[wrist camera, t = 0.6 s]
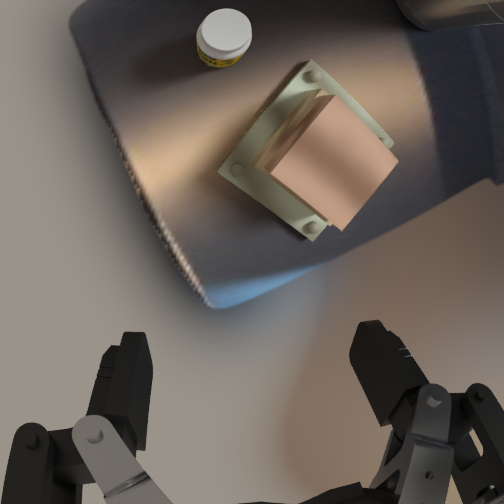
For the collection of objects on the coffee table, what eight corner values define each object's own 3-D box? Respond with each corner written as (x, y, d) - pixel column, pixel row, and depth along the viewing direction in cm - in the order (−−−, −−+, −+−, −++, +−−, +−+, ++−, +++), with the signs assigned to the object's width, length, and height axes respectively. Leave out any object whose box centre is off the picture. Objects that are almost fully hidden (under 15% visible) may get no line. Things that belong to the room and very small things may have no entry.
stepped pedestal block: (307, 60, 28) (338, 48, 21) (389, 141, 33) (430, 153, 26) (217, 170, 32) (221, 189, 25) (309, 237, 37) (334, 270, 30)
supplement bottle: (191, 62, 26) (186, 46, 19) (205, 24, 25) (206, -3, 17) (235, 74, 28) (245, 61, 20) (249, 36, 26) (264, 13, 18)
